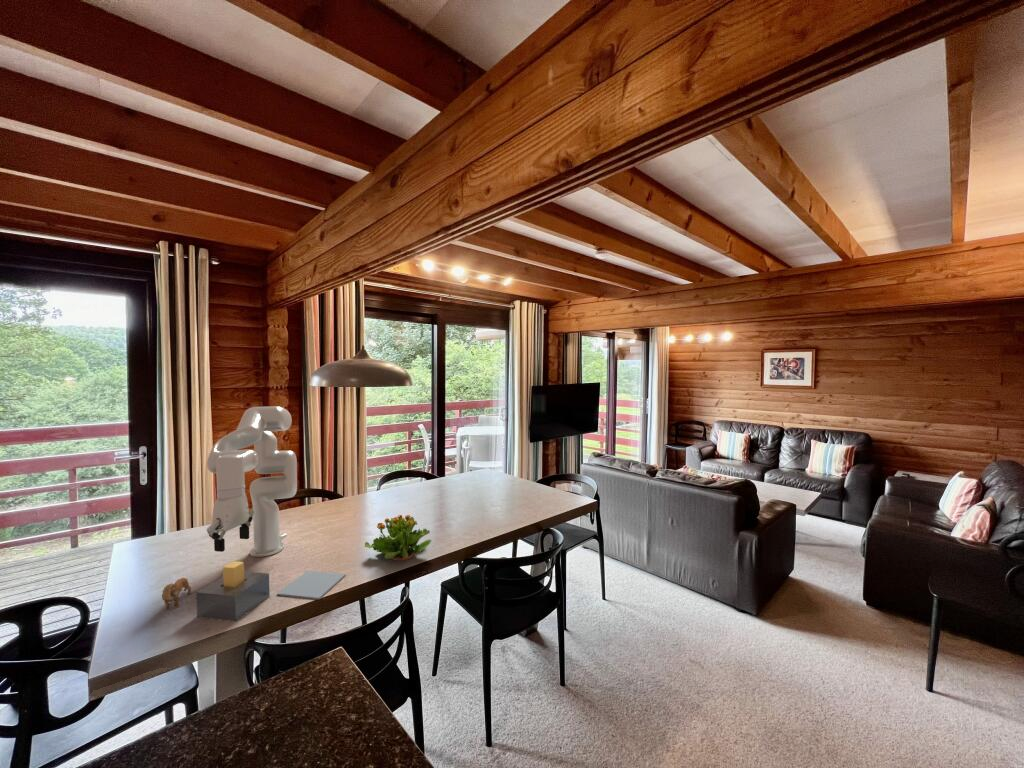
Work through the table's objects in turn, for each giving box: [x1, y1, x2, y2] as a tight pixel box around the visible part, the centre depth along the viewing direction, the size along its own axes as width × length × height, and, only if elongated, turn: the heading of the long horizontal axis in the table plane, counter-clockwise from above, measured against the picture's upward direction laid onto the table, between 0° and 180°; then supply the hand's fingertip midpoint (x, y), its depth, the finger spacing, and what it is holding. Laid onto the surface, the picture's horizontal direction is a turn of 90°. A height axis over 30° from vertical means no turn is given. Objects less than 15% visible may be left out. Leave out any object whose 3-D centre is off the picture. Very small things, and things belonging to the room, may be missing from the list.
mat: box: [276, 570, 347, 600], centre depth 148 cm, size 16×16×1 cm
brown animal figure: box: [161, 577, 192, 611], centre depth 137 cm, size 15×5×9 cm, turn 24°
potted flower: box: [364, 514, 432, 562], centre depth 171 cm, size 25×24×18 cm
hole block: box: [195, 570, 270, 622], centre depth 135 cm, size 14×14×8 cm
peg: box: [222, 560, 245, 588], centre depth 135 cm, size 4×4×12 cm
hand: (232, 544), depth 134 cm, fingers open, 9 cm apart
